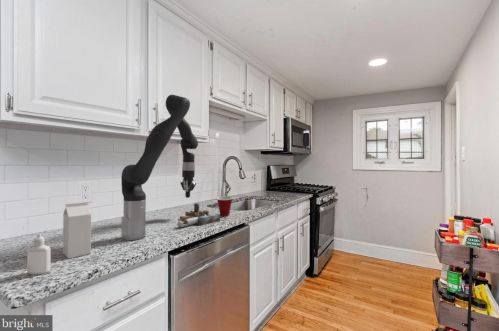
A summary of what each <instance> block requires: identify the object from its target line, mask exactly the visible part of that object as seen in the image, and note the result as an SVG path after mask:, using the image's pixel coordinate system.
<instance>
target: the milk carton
mask: <svg viewBox="0 0 499 331" xmlns="http://www.w3.org/2000/svg"><path fill="white" fill-rule="evenodd" d="M90 209H91V208H90V206H89V202H88V201H87V202H85V201H84V202H75V203H66V204H65V209H64V211H63V214H62V216H63V220H62V221H63V223H62V225H63V226H62V228H63V229H62V235H63V236H62V254H63V255H64V256H65V257H66V258H67V259H74V258H78V257H82V256H85V255H86V256H87V255H89V254H91V253H92V252H91V251H92V248H91V247H92V212H91V210H90Z"/></svg>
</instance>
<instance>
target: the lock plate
mask: <svg viewBox="0 0 499 331" xmlns="http://www.w3.org/2000/svg"><path fill="white" fill-rule="evenodd" d="M209 212H210V211H209V210H207V209H204V210H199V212H198V213H199V216H195V212H194V210H190V211H185V215H179V221H182V222H184V220H185V219H189V218H194V217H198V223H196V224H195V225H199V226H205V225H209V224H213V223H218V222H220V221H221V216H220V213H211V214H209ZM204 214H206V216H204Z"/></svg>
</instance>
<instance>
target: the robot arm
mask: <svg viewBox="0 0 499 331" xmlns="http://www.w3.org/2000/svg"><path fill="white" fill-rule="evenodd" d="M190 106H191V101H190V99H189V98H187V97H184V96H181V95H176V94H169V95H168V96H167V97H166V99H165V108H166V110H167V113H168V114H169V115H170V116H169V117H168V118H166V119H165V120H162V121H161V122H159V123H158V124H156V125H155V126H154V127H153V128H152V130H151V131H150V132H149V134H148V136H147V137H146V140H145V146H144V150H143V153H142V155H141V156H140V158H139V160H138V161H137V163H136V164H128V165H126V166H125V167H123V169H122V171H121V176H120V177H121V194H122V196H123V216H121V224H120V225H121V228H120V229H121V232H120V234H121V237H120V238H121V239H122V240H125V241H127V242H128V241H138V240H141V239H144V238H146V232H147V231H146V222H147V220H146V213H147V212H146V211H147V209H146V207H147V205H146V204H147V202H146V201H147V200H146V199H147V195H146V192H145V191H144V190H143V187H142V186H143V185H144V184H146V183H147V181H148V180H149V178H150V177H151V174H152V173H153V170H154V167H155V165H156V163H157V161H158V160H159V158H160V157H161V155H162V153H163V151H164V149H165V148H166V146H167V145H168V143H169V141H170V140H171V138H172V136H173V134H174V132H175V131H176V129H177V130H178V133H179V136H180V138H181V139H180V147H181V148H180V149H181V152H182V167H181V168H182V170H181V173H182V174H181V177H182V181H180V185H181V188H182V190H183V191H184V192H185V193H184V194H185V195H184V196H185V198H191V192H192V191H194V189H195V187H196V185H197V183H196V182H195V181H194V178H195V169H196V168H195V167H196V166H195V154H194V153H193V152H189V151H188V150H195V149H197V148H198V146H199V141H198V139H197V137H196V136H195V134H194V133H193V131H192V128H191V125H190V124H189V122H188V121H187V120H186V118H185V117H186V115H187V114H188V112H189V110H190Z"/></svg>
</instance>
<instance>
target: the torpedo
mask: <svg viewBox="0 0 499 331" xmlns="http://www.w3.org/2000/svg"><path fill="white" fill-rule="evenodd" d="M196 223H198V217H194V218H189V219H185V220H184V221H183V220H178V221H177V225H176V226H177V227H179V228H183V227H188V226H191V225H197V224H196Z"/></svg>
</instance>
